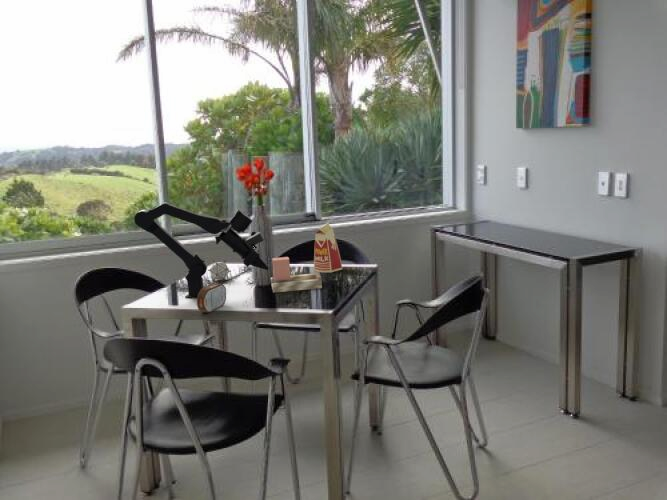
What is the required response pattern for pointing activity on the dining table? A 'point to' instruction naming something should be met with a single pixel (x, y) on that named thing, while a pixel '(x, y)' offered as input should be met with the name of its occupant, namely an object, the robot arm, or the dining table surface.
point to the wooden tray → (297, 283)
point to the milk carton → (326, 251)
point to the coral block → (281, 268)
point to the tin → (211, 297)
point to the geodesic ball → (219, 270)
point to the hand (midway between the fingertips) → (267, 268)
